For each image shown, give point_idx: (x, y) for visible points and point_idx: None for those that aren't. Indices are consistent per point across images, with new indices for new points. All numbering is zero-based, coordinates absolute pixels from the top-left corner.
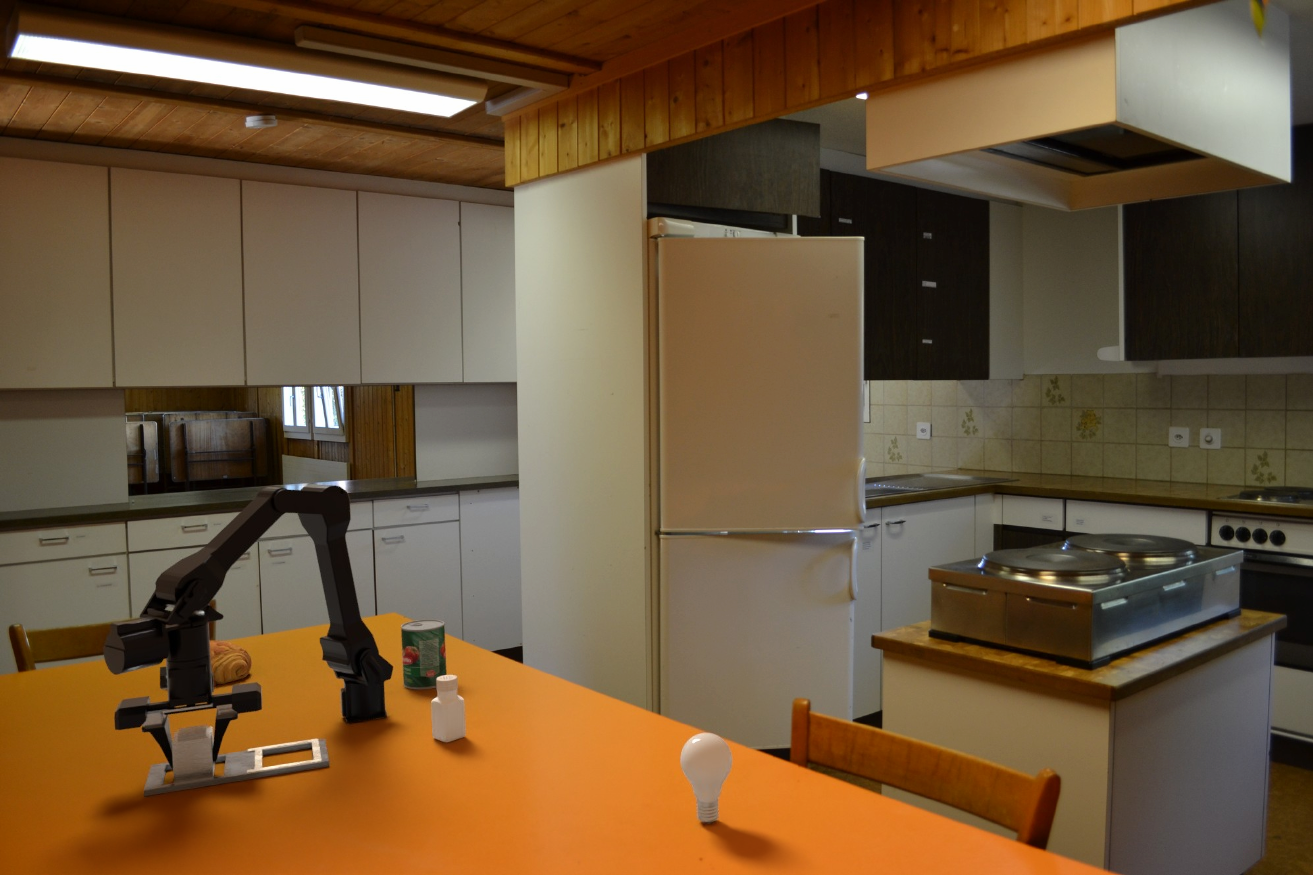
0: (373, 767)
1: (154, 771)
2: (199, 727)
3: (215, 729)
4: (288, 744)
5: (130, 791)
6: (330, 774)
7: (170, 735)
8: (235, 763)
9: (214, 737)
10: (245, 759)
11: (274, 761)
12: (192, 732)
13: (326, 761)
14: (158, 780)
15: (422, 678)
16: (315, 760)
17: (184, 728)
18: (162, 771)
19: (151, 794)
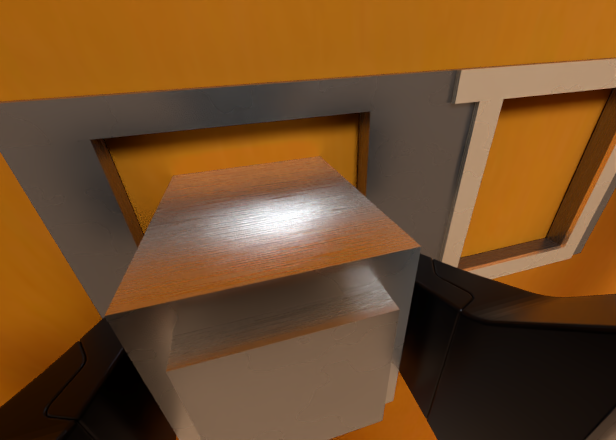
0: (609, 266)
1: (70, 214)
2: (345, 360)
3: (439, 436)
4: (585, 84)
5: (56, 318)
6: (545, 284)
7: (121, 400)
8: (396, 213)
9: (403, 374)
10: (429, 183)
11: (491, 172)
12: (307, 426)
13: (575, 252)
14: None
15: None
16: (563, 253)
17: (222, 372)
18: (118, 224)
19: None
